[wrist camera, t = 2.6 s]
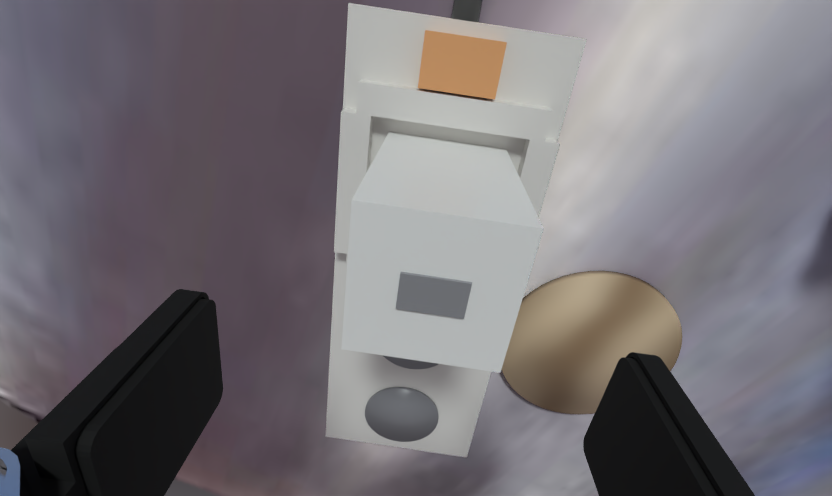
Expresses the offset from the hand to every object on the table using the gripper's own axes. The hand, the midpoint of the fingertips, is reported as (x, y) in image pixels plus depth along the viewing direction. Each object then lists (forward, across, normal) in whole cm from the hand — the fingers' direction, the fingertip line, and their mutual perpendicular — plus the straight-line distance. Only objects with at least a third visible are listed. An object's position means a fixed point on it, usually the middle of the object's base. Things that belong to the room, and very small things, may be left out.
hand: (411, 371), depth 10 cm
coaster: (+15, -12, +9) cm, 21 cm away
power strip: (+15, -1, -1) cm, 15 cm away
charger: (+11, 0, -1) cm, 11 cm away
